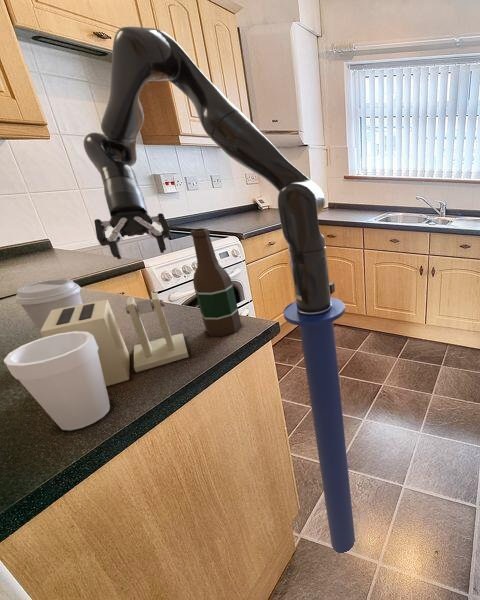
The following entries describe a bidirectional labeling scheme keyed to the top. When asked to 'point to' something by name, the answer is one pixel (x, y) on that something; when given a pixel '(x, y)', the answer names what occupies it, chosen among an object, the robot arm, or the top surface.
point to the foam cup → (63, 377)
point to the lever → (145, 306)
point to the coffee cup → (47, 298)
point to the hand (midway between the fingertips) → (141, 254)
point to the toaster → (104, 330)
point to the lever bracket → (158, 349)
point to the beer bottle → (213, 288)
